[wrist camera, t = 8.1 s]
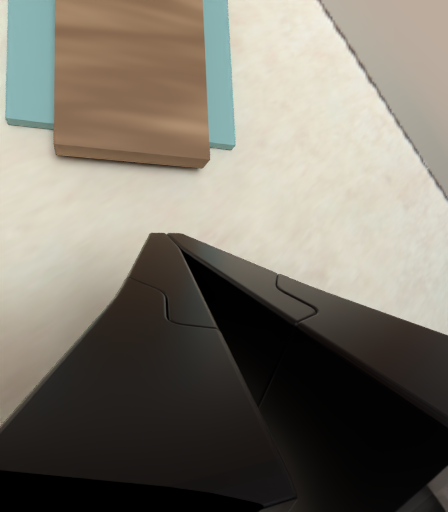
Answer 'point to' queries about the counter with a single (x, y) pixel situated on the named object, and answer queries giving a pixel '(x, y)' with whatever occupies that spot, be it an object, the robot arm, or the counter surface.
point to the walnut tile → (131, 81)
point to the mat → (43, 64)
